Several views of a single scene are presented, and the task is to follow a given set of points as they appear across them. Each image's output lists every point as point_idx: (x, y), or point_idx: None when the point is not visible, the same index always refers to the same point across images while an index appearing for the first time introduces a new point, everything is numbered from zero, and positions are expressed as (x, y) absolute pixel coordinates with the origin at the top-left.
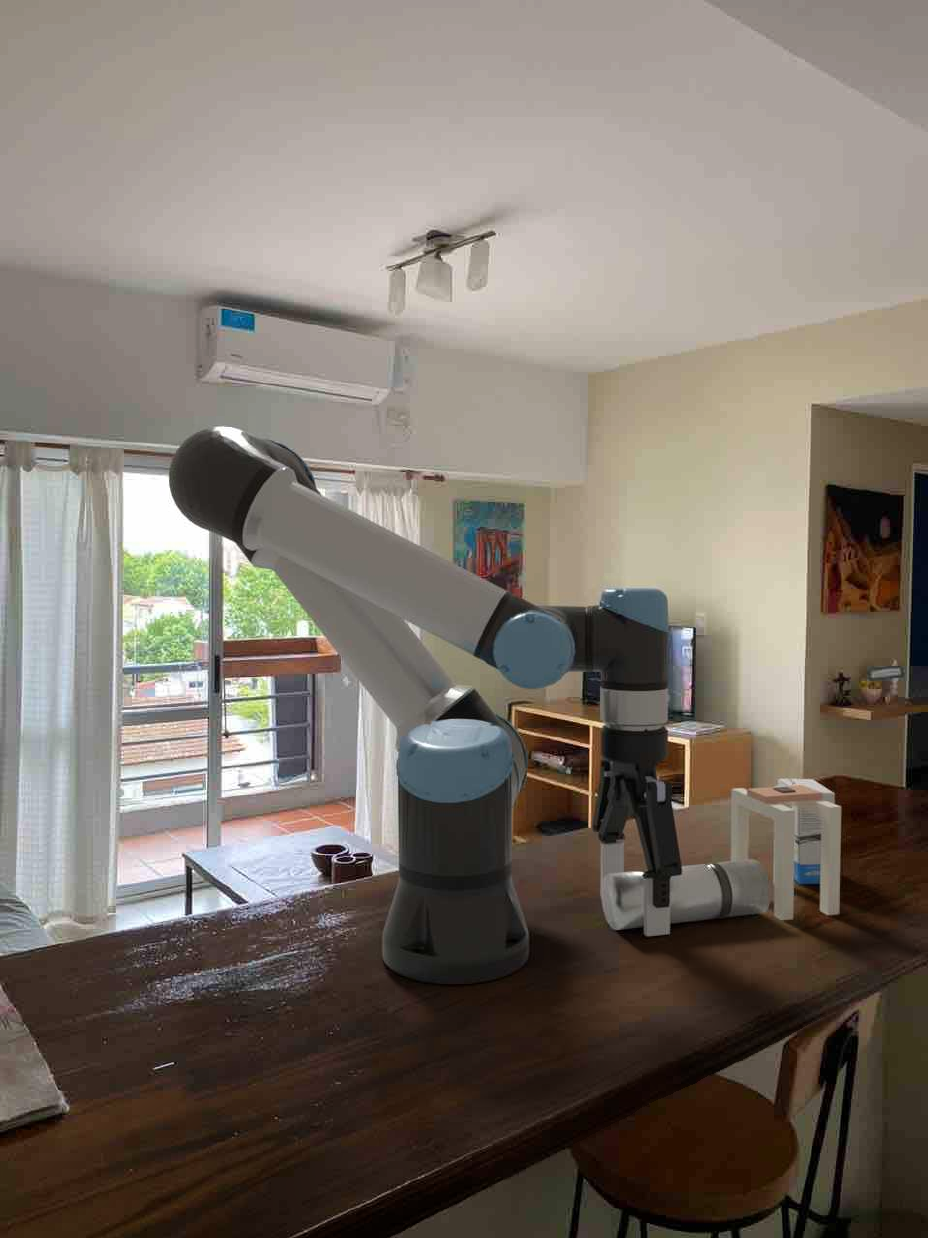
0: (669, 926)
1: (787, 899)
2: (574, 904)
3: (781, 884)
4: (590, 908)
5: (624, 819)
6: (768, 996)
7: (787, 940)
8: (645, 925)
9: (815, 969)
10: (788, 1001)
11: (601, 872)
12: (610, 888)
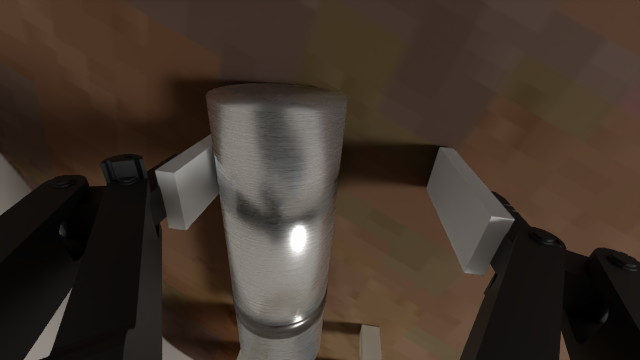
0: None
1: None
2: (456, 74)
3: (240, 354)
4: (414, 98)
5: (467, 345)
6: (35, 164)
7: (199, 277)
8: None
9: None
10: (26, 176)
11: (468, 172)
12: (282, 102)
